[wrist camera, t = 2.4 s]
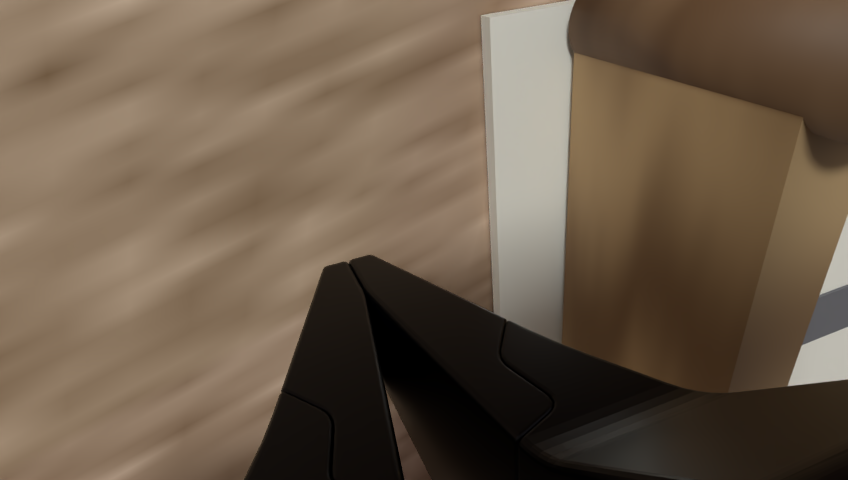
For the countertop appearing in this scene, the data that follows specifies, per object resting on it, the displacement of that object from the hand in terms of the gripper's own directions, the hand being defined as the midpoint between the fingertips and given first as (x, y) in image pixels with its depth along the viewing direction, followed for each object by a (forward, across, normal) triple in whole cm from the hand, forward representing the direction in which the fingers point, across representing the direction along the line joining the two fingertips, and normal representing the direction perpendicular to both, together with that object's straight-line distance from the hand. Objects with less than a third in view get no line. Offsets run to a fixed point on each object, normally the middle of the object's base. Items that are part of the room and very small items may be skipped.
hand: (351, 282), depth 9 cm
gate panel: (+2, -6, +1) cm, 7 cm away
